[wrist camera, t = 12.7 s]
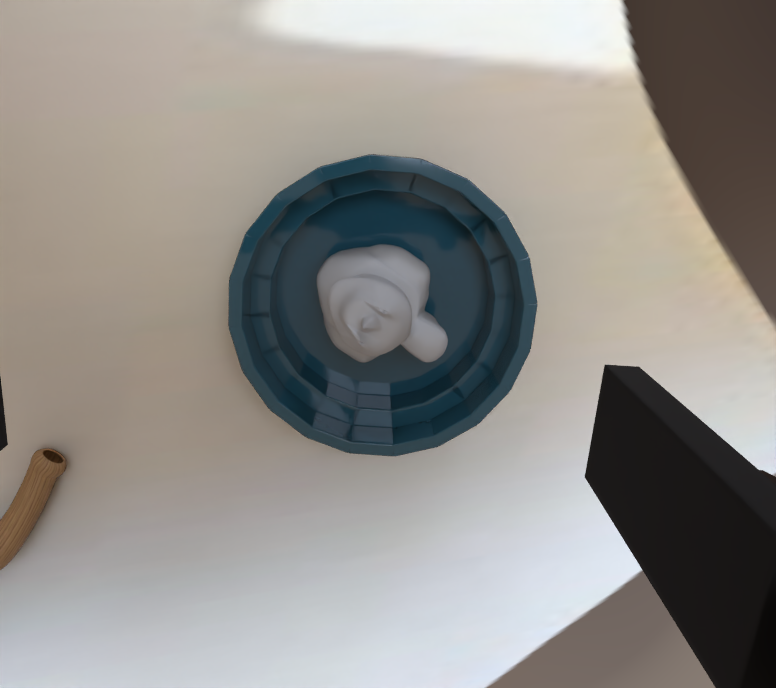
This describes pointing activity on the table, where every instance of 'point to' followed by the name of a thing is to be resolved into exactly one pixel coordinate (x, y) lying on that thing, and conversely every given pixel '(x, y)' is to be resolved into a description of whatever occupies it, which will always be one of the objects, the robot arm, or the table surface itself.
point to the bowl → (399, 367)
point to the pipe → (29, 502)
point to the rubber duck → (379, 303)
